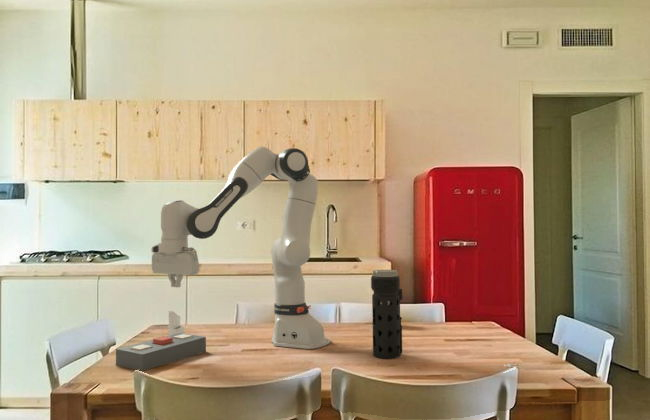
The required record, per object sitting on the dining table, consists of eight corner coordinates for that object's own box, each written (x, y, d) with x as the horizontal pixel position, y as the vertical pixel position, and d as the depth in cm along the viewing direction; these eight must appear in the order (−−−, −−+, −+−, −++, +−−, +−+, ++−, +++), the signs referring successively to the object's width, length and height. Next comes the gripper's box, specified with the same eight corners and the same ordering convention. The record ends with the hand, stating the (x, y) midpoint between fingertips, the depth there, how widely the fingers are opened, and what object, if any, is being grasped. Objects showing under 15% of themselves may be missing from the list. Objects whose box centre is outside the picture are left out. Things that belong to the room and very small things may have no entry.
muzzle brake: (398, 350, 170) (368, 352, 168) (397, 269, 170) (367, 269, 169) (407, 358, 160) (376, 360, 159) (405, 271, 161) (375, 272, 159)
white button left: (151, 361, 158) (151, 346, 158) (139, 365, 154) (139, 349, 154) (142, 359, 160) (142, 344, 160) (130, 363, 156) (130, 347, 157)
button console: (205, 351, 172) (205, 337, 172) (142, 371, 150) (142, 354, 150) (180, 346, 179) (180, 332, 179) (115, 364, 157) (115, 348, 157)
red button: (172, 352, 165) (172, 337, 165) (162, 355, 161) (161, 340, 161) (163, 351, 167) (163, 336, 167) (153, 354, 164) (153, 338, 164)
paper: (529, 357, 162) (529, 354, 162) (547, 373, 145) (547, 369, 145) (451, 356, 164) (451, 352, 164) (460, 371, 147) (460, 368, 147)
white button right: (192, 349, 172) (192, 335, 172) (182, 352, 168) (182, 338, 169) (183, 348, 174) (183, 334, 175) (173, 351, 171) (173, 336, 171)
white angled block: (163, 333, 190) (168, 311, 195) (174, 340, 199) (179, 319, 203) (171, 333, 190) (177, 311, 194) (182, 341, 198) (187, 320, 202)
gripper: (202, 246, 170) (204, 287, 169) (162, 246, 180) (163, 284, 180) (188, 248, 164) (190, 289, 164) (148, 247, 175) (149, 287, 175)
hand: (175, 287), depth 172 cm, fingers closed
